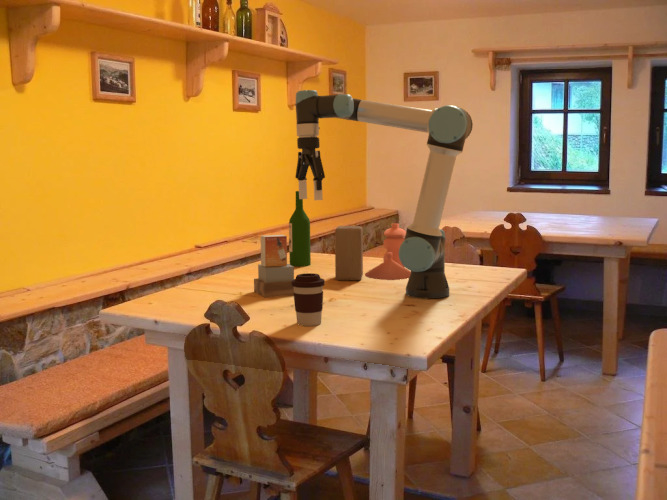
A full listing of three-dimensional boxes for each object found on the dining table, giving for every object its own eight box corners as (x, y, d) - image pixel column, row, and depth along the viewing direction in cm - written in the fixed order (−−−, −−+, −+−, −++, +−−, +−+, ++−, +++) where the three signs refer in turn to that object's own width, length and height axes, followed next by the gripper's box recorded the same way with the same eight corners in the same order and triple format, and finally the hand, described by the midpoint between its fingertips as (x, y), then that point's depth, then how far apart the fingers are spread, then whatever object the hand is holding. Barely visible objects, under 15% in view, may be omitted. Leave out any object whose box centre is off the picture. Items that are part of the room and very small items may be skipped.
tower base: (298, 295, 253) (297, 281, 252) (264, 298, 248) (264, 284, 248) (286, 290, 264) (286, 276, 263) (254, 292, 259) (253, 278, 259)
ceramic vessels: (413, 280, 280) (414, 231, 278) (359, 279, 284) (359, 230, 282) (421, 266, 314) (421, 222, 312) (372, 265, 318) (372, 222, 316)
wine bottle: (287, 266, 317) (286, 190, 313) (307, 265, 320) (306, 190, 316) (292, 269, 309) (291, 191, 305) (313, 268, 312) (312, 191, 308)
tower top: (294, 281, 253) (293, 266, 252) (265, 282, 250) (265, 268, 249) (285, 276, 262) (285, 262, 262) (258, 278, 259) (258, 264, 258)
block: (362, 276, 290) (362, 225, 287) (361, 280, 280) (361, 228, 278) (337, 276, 291) (337, 225, 288) (335, 280, 281) (334, 228, 279)
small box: (265, 267, 251) (264, 236, 250) (260, 265, 256) (260, 235, 255) (287, 266, 254) (287, 235, 253) (282, 263, 259) (282, 234, 258)
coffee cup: (325, 320, 227) (323, 271, 225) (326, 327, 217) (325, 276, 215) (292, 321, 226) (291, 272, 225) (292, 328, 217) (291, 277, 215)
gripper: (333, 134, 240) (335, 200, 243) (304, 138, 263) (306, 197, 265) (312, 135, 237) (314, 201, 240) (284, 138, 260) (287, 199, 262)
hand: (310, 199), depth 252 cm, fingers open, 13 cm apart
